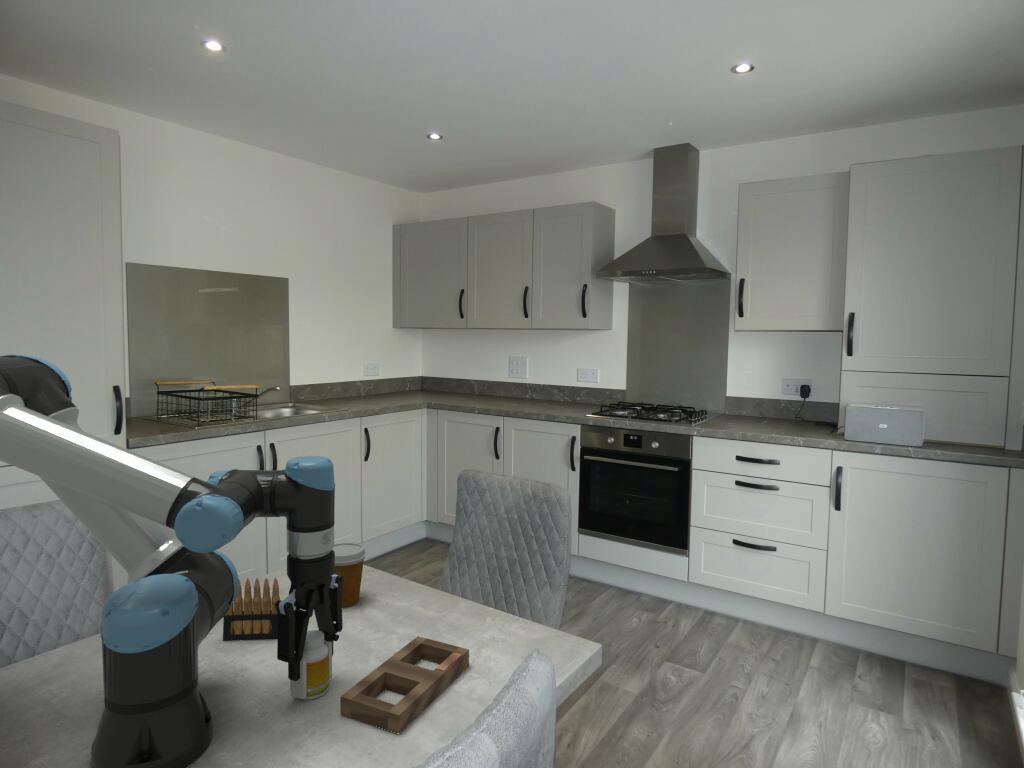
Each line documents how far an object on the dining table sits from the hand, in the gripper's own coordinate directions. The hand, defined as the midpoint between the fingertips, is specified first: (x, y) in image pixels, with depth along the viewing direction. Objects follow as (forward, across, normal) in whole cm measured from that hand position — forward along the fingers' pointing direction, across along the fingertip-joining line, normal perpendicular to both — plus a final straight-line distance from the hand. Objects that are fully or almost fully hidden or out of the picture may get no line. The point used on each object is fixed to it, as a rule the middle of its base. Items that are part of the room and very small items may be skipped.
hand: (311, 686), depth 105 cm
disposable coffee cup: (+1, +30, +18) cm, 35 cm away
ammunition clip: (+1, +9, +23) cm, 25 cm away
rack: (+1, +8, -14) cm, 16 cm away
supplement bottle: (+1, 0, 0) cm, 1 cm away
